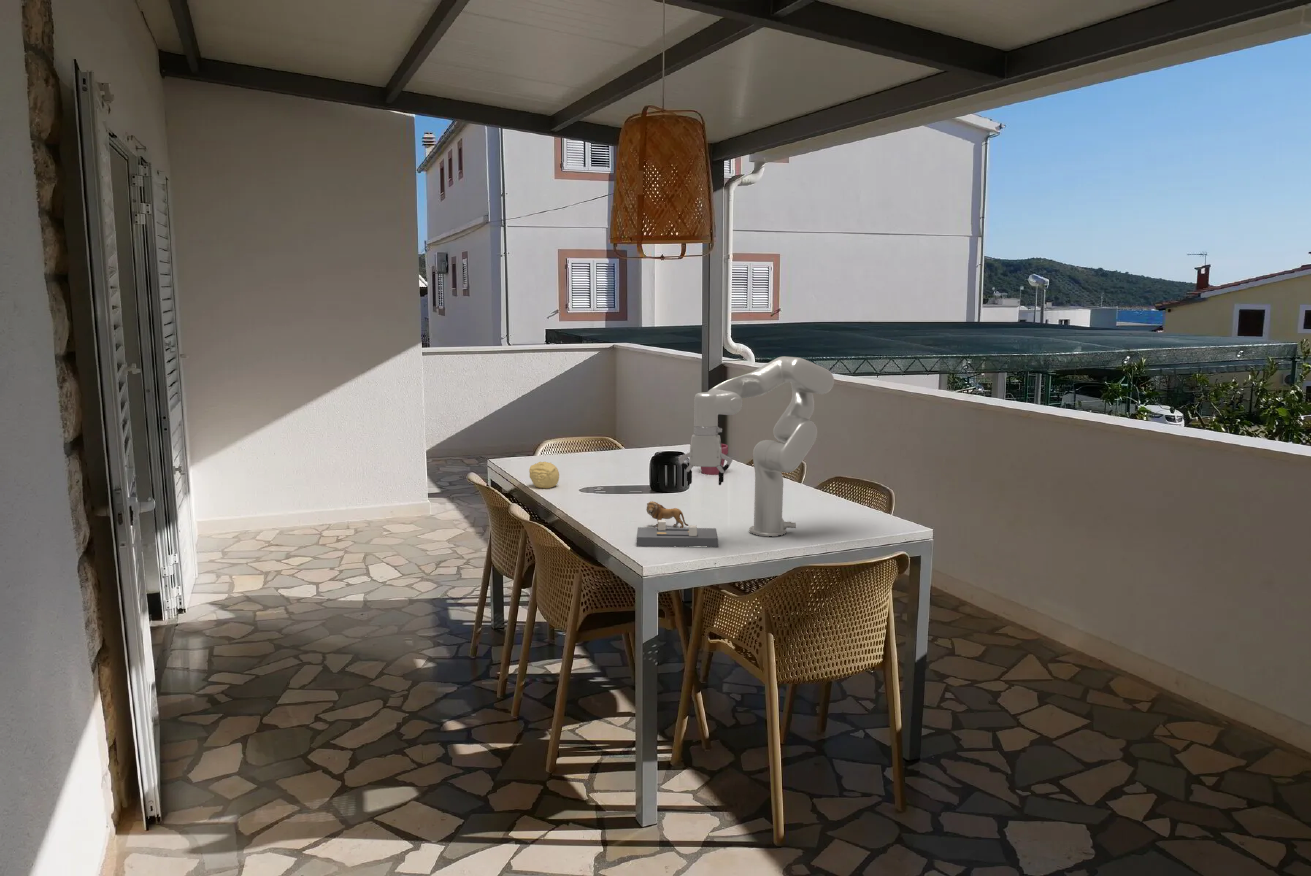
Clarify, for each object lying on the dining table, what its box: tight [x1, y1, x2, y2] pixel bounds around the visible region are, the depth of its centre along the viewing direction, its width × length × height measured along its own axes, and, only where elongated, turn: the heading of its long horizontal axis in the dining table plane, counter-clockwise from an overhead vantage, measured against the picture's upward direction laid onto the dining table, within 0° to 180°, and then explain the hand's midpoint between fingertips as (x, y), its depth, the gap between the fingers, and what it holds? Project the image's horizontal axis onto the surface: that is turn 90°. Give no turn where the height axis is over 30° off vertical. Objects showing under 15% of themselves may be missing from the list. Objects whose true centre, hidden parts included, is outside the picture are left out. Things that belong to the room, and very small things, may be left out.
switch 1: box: [657, 519, 667, 531], centre depth 313 cm, size 2×3×4 cm
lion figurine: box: [646, 500, 689, 528], centre depth 329 cm, size 15×5×9 cm, turn 90°
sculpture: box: [528, 461, 560, 489], centre depth 394 cm, size 11×12×11 cm
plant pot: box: [700, 443, 729, 476], centre depth 428 cm, size 14×14×13 cm
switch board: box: [636, 526, 719, 548], centre depth 309 cm, size 26×13×3 cm, turn 89°
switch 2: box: [688, 524, 698, 536], centre depth 306 cm, size 2×3×4 cm
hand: (705, 483), depth 305 cm, fingers open, 9 cm apart
